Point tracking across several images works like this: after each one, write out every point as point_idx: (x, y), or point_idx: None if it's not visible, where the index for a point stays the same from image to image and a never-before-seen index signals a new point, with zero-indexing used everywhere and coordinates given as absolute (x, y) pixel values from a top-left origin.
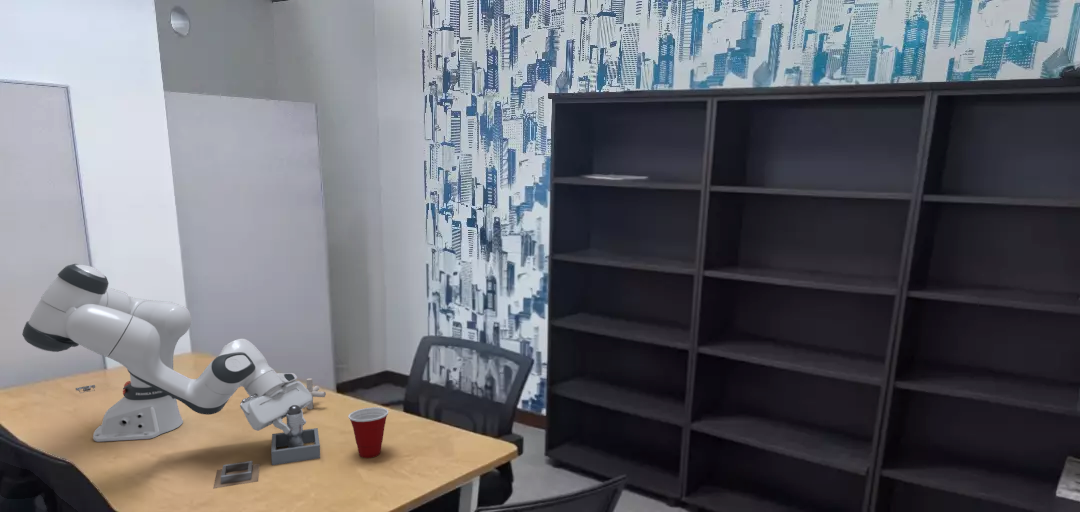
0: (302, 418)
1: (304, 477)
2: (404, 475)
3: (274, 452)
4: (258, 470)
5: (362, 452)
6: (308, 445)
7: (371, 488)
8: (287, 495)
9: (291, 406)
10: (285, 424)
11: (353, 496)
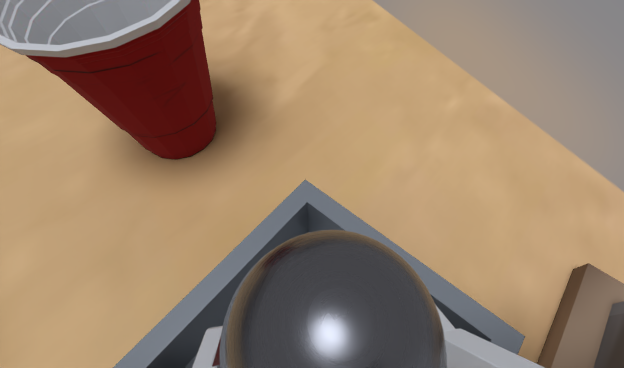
0: (215, 355)
1: (415, 182)
2: (260, 22)
3: (504, 323)
4: (559, 355)
5: (214, 114)
6: (335, 221)
7: (344, 36)
8: (510, 146)
9: (394, 343)
10: (455, 339)
11: (392, 42)
